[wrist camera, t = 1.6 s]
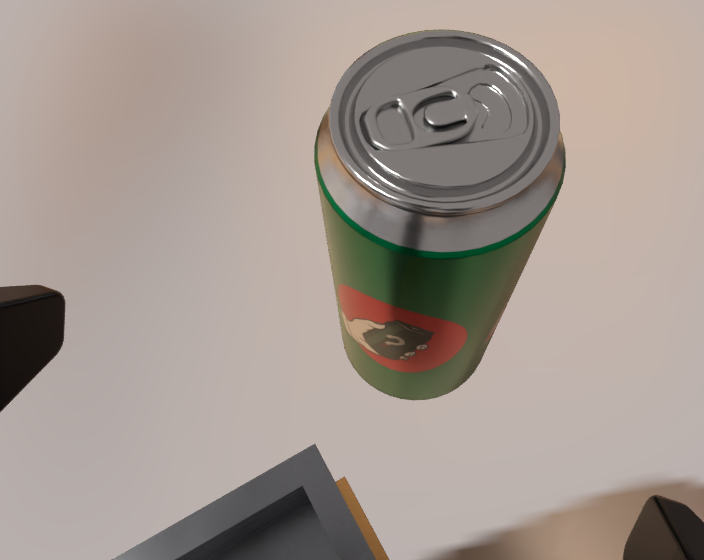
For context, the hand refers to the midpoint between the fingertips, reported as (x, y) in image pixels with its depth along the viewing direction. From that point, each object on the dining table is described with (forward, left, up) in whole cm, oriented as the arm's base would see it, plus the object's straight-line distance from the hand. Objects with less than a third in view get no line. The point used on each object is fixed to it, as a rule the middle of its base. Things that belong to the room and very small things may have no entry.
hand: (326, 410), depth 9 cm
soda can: (+5, +4, -12) cm, 14 cm away
